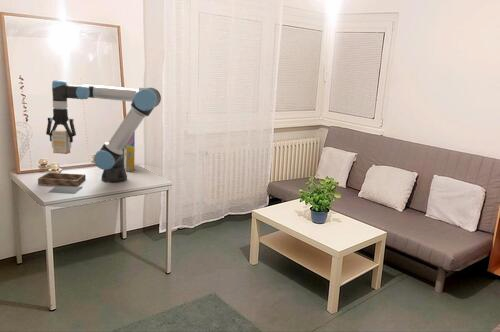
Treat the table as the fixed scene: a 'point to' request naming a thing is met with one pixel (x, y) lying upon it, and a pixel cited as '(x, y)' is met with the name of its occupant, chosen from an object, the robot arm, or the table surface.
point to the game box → (129, 154)
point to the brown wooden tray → (61, 179)
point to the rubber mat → (65, 189)
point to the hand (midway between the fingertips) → (61, 147)
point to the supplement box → (60, 141)
